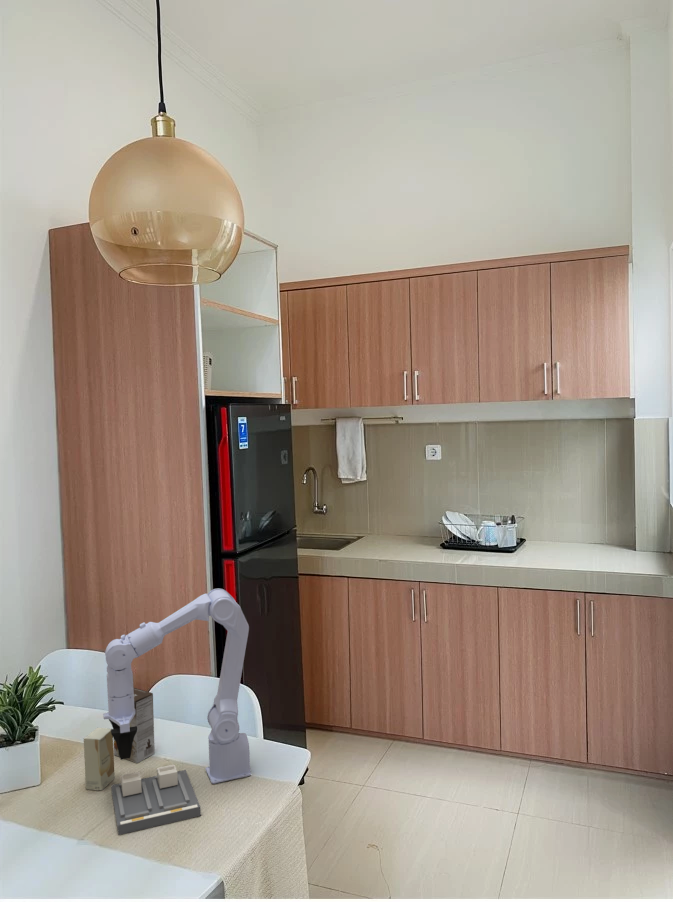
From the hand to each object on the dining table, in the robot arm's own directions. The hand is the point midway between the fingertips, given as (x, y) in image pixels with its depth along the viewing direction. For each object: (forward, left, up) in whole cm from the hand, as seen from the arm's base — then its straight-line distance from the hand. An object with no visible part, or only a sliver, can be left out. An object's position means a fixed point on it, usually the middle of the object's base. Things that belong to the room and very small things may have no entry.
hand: (123, 751), depth 163 cm
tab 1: (-1, +4, -7) cm, 9 cm away
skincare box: (+5, -7, -10) cm, 13 cm away
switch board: (-5, +8, -10) cm, 14 cm away
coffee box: (-4, -19, -10) cm, 22 cm away
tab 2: (-9, +4, -7) cm, 12 cm away
